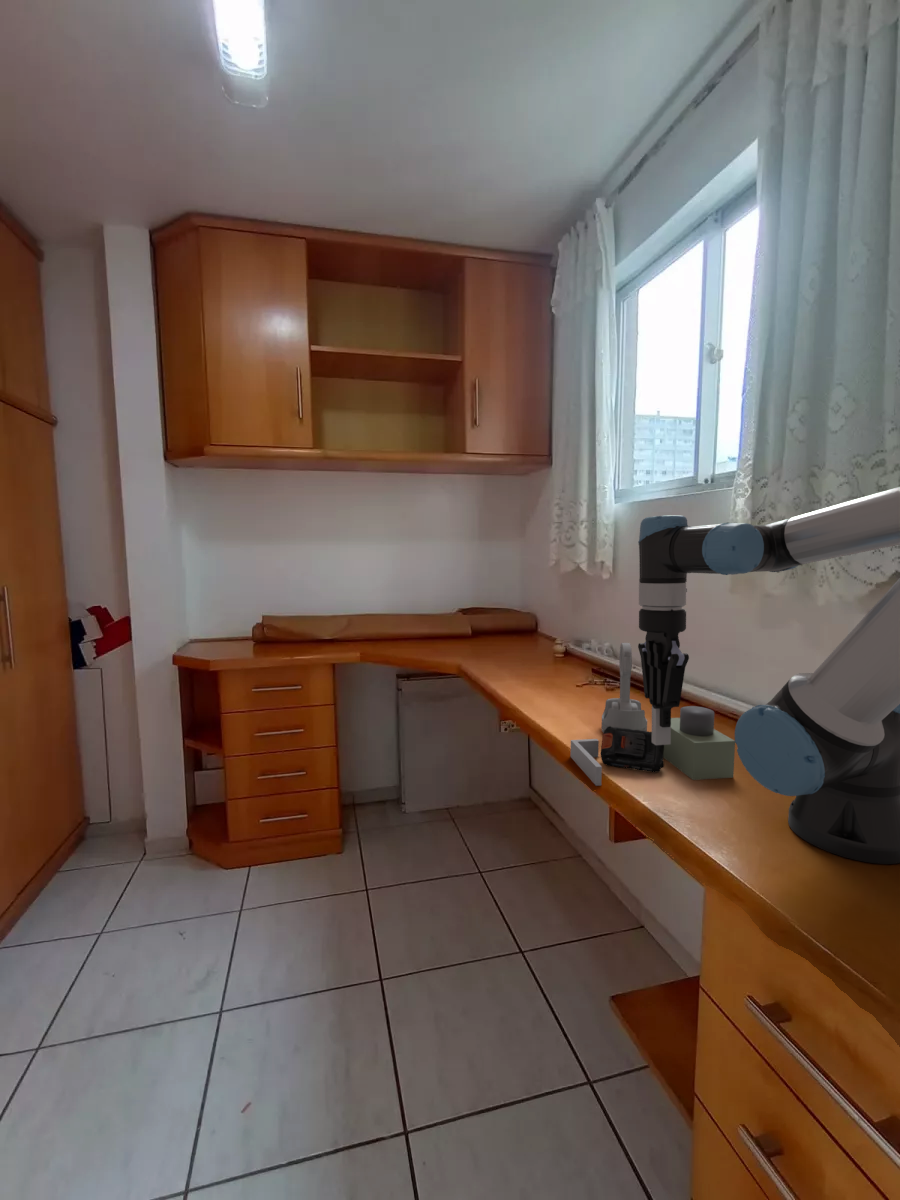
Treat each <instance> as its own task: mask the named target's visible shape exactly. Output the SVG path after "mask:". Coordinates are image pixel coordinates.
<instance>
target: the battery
mask: <svg viewBox="0 0 900 1200" xmlns="http://www.w3.org/2000/svg"><path fill="white" fill-rule="evenodd" d="M601 739H602V740H601V746H600V758H601V762H602V763H603V764H604V765H605V766H608V767H615V768H620V769H621V768H622V769H629V770H636V771H640V772H641V771H643V772H649V773H656V774H657V773H659V772H660V771H661V770H662V769H663V768H664V765H665V763H664V762H665V761H664V758H663V752H664V745H655V744H653V743H652V731H648V730H647V731H640V730H632V729H625V728H616V727H611V726H609V727H607V728H606V729H605V730H604V733H603V732H602V738H601Z"/></svg>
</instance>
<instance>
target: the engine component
mask: <svg viewBox="0 0 900 1200" xmlns="http://www.w3.org/2000/svg"><path fill="white" fill-rule="evenodd" d="M632 653H633V651H632V646H631V642H621V643H620V647H619V659H618V660H619V698H618V697H611V698H607V699H606V700H605V705H604V710H603V712H602V715H601V732H602V734H603V733H604V730H605V729H606V728H607V727H609V726H611V727H616V728H625V729H632V730H640V731H648V718H646V716H645V715H646V713H645V710H644V709H642V702H641V701H639V700H636V699H632V698H630V697H631V691H630V690H631V677H632V667H633V654H632Z"/></svg>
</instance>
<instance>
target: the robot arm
mask: <svg viewBox="0 0 900 1200" xmlns="http://www.w3.org/2000/svg"><path fill="white" fill-rule="evenodd" d="M638 537H639V539H638V552H639V553H638V554H639V555H638V556H639V557H638V559H639V564H638V565H639V566H638V567H639V579H638V581H639V582H638V605H639V606H641V608H640V609H639V611H638V628H639V630H640V631H642V632H646V634H645V641H644V642H643V643H642V642H640V643H638V645H637V647H638V648H637V649H638V651H639V656H640V661H641V662H640V663H641V672H642V683H643V691H644V692H643V693H644V697H645V699H648V700H649V704H650V705H651V732H652V743H653V744H655V745H668V744H671V718H672V709H673V708H678V707H680V703H681V698H682V691H683V685H684V680H685V679H684V678H685V672H686V666H687V664H688V662H689V659H690V656H689V653H686V652H685V653H684V652H683V653H682V651H681V649H680V647H681V642H680V639H679V634H680V633H682V632H685V630H686V629H687V611H686V610H685V608H683V607H685V606H686V605H687V592H688V588H687V578H688V574H708V575H709V574H710V575H711V574H716V575H719V574H720V575H723V576H728V575H740V574H744V575H745V574H749V573H755V572H757V573H758V572H759V573H761V572H762V573H763V572H769V573H779V572H785V571H789V570H793V569H795V568H797V567H798V566H802V565H807V564H811V563H815V562H821V561H827V560H831V559H835V558H840V557H844V556H850V555H854V554H855V555H856V554H859V553H865V552H870V551H875V550H880V549H884V548H889V547H895V546H900V486H896V487H894V488H890V489H888V490H887V489H886V490H882V491H880V492H876V493H872V494H869V495H866V496H862V497H859V498H855V499H851V500H848V501H844V502H841V503H838V504H833V505H831V506H827V507H824V508H820V509H816V510H813V511H811V512H807V513H803V514H800V515H796V516H792V517H790V518H786V519H783V520H779V521H775V522H771V523H768V524H751V523H748V522H722V523H717V524H707V525H706V524H705V525H695V526H690V525H688V518H687V517H686V516H685V515H675V514H674V515H673V514H672V515H671V514H669V515H653V516H647V517H645V518H643V519H642V520H641V521H640V527H639V536H638ZM734 740H735V745H736V746H737V747H736V748H737V749H736V751H737V755H738V757H739V759H740V761H741V763H742V765H743V767H744V768H745V769H746V771H747V772H748V774H749V775H750V776H751V777H752V778H753V779H754V780H755V781H756V782H757V783H758V784H760V785H761V786H763V787H764V788H765V789H767V790H769V791H771V792H773V793H775V794H779V795H782V796H787V797H795V798H794V799H792V801H791V803H790V805H789V807H788V817H787V819H788V820H787V823H788V826H789V827H790V829H791V830H792V831H793V833H795V835H796V836H798V837H799V838H801V839H803V841H805V842H807V843H808V844H809V845H810V844H811V845H812V846H815V847H817V848H818V849H821V850H823V851H826V852H828V853H831V854H833V855H837V856H840V857H843V858H847V859H850V860H855V861H857V862H858V861H859V862H865V863H870V864H879V865H893V864H894V865H896V864H900V577H899V578H898V579H897V581H895V583H894V584H893V585H892V586H890V588H889V589H888V590H887V591H886V592H885V593H884V595H883V596H882V597H881V598H880V599H879V600H878V601H877V603H876V604H874V606H873V607H871V609H870V610H869V611H868V612H867V614H866V615H864V617H863V618H861V620H860V621H859V622H858V623H857V624H856V625H855V627H854V628H853V629H851V631H850V632H849V633H848V634H847V636H845V638H843V640H842V641H841V642H840V643H839V644H838V645H837V646H836V648H834V650H833V651H832V652H831V653H830V654H829V655H828V656H827V657H826V658H825V660H824V661H823V662H822V663H821V664H820V665H819V667H818V668H816V670H815V671H814V672H805V673H804V672H801V673H800V672H799V673H796V674H794V675H793V676H792V677H791V678H789V680H788V681H786V683H785V684H784V685H783V687H781V688H780V690H779V691H778V692H777V693H776V694H775V695H774V696H773V697H772V699H771V700H770V701H768V702H767V703H766V704H757V705H755V706H752V707H751V708H750V709H748V710H746V711H745V712H743V713H742V714H741V716H739V718H738V720H737V722H736V725H735V728H734Z"/></svg>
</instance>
